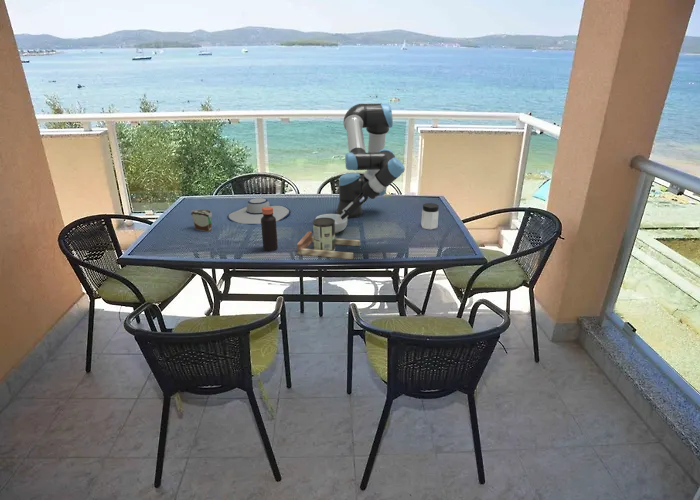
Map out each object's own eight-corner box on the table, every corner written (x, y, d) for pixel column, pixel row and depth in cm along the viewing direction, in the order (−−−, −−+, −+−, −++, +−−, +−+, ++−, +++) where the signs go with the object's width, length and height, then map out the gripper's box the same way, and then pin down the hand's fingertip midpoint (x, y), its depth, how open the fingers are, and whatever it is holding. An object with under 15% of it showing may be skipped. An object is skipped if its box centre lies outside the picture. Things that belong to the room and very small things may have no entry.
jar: (428, 230, 234) (429, 208, 230) (417, 226, 241) (419, 204, 236) (440, 227, 239) (442, 205, 234) (430, 223, 245) (431, 201, 240)
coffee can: (325, 243, 218) (324, 215, 213) (339, 249, 212) (339, 220, 206) (309, 249, 212) (307, 221, 206) (323, 255, 205) (322, 226, 200)
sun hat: (293, 205, 277) (292, 191, 274) (287, 225, 244) (286, 209, 241) (234, 205, 276) (233, 191, 273) (220, 226, 243) (218, 210, 240)
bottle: (265, 245, 216) (262, 205, 208) (279, 246, 215) (276, 206, 207) (261, 251, 210) (258, 210, 202) (275, 251, 209) (272, 210, 201)
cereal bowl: (335, 239, 223) (335, 226, 220) (308, 233, 231) (308, 220, 228) (353, 229, 236) (353, 216, 234) (327, 223, 244) (327, 211, 242)
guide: (297, 254, 206) (297, 244, 204) (308, 240, 221) (308, 231, 220) (352, 259, 201) (352, 248, 199) (360, 245, 216) (360, 235, 214)
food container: (219, 228, 238) (216, 210, 234) (211, 232, 233) (208, 214, 229) (201, 225, 243) (198, 207, 239) (192, 228, 237) (190, 210, 234)
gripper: (374, 201, 184) (339, 232, 193) (384, 185, 206) (352, 214, 215) (362, 188, 183) (327, 220, 192) (373, 173, 205) (341, 203, 214)
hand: (340, 217), depth 204 cm, fingers open, 13 cm apart
